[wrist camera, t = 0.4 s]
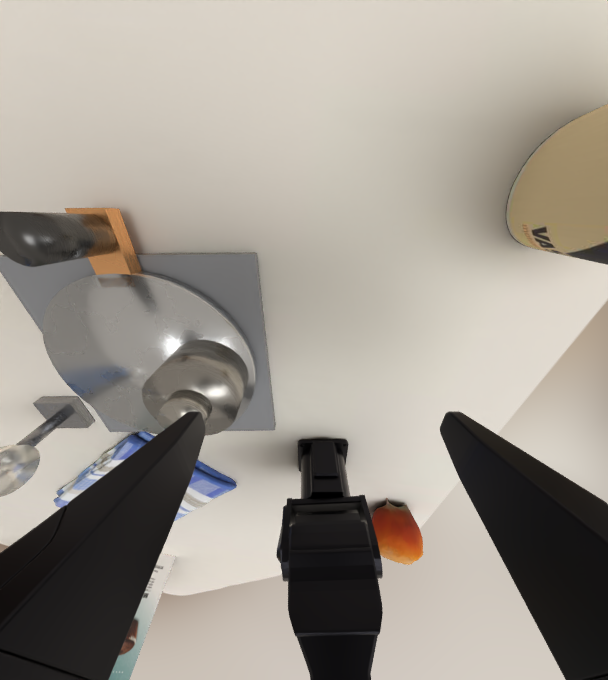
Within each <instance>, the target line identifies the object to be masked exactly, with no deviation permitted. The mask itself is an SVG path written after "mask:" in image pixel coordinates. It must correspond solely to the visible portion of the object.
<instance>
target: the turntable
mask: <svg viewBox="0 0 608 680" xmlns="http://www.w3.org/2000/svg"><path fill="white" fill-rule="evenodd" d="M65 210H66V212H67V213H34V212H0V251H1V252H2V253H3V254H4V255H6V256H7V257H8V258H10V259H11V260H13V261H15V262H16V263H19V264H21V265H24V266H28V267H37V266H43V265H48V264H54V263H60V262H65V261H71V260H76V259H82V258H88V259H89V261H90V263H91V265H92V267H93V269H94V271H95V273H96V275H93V276H89V277H85V278H82V279H80V280H77V281H75V282H73V283H70V284H69V285H67V286H66V287H65V288H63V289H62V290H60V291H59V292H58V293H57V294H56V295H55V296H54V298H53V299H52V300H51V302H50V304H49V305H48V307H47V309H46V312H45V315H44V319H43V338H44V344H45V347H46V350H47V353H48V355H49V358H50V360H51V362H52V364H53V365H54V367H55V369H56V370H57V372H58V373H59V375H60V376H61V377H62V379H63V380H64V381H65V382H66V384H67V385H68V386H69V387H70V388H71V389H72V390H73V391H74V392H75V393H76V394H77V395H79V396H80V397H81V398H82V399H83V400H84V401H86V402H87V403H88V404H90V405H91V406H92V407H94V408H95V409H97V410H98V411H100V412H102V413H103V414H105V415H107V416H109V417H110V418H112V419H114V420H116V421H118V422H121V423H123V424H125V425H128V426H130V427H133V428H136V429H139V430H142V431H146V432H150V433H154V434H159V433H161V432H162V431H163V430H165V429H164V428H163V427H162V426H161V425H160V424H159V422H158V420H156V419H155V418H154V417H153V416H152V415H151V414H150V413H149V411H148V410H147V408H146V407H145V405H144V403H143V399H142V388H143V385H144V383H145V382H146V380H147V379H148V378H149V377H150V376H151V375H152V374H153V373H154V372H155V371H156V370H157V369H158V368H159V367H160V366H161V365H162V364H163V363H164V362H165V361H166V360H167V359H168V358H169V357H170V356H171V355H172V353H173V352H174V351H175V350H176V349H177V348H178V347H180V346H181V345H182V344H184V343H187V342H190V341H194V340H210V341H215V342H218V343H221V344H224V345H226V346H227V347H229V348H231V349H232V350H234V351H235V352H236V353H237V354H238V355H239V356H240V357H241V358H242V359H243V361H244V362H245V364H246V366H247V369H248V374H249V379H248V384H247V387H246V390H245V393H244V396H243V398H242V401H241V404H240V407H239V410H238V413H237V416H236V419H235V421H236V420H237V419H238V418H239V417H240V416H241V415H242V414H243V413H244V411H245V410H246V409H247V407H248V405H249V403H250V401H251V399H252V395H253V392H254V388H255V385H256V378H257V368H256V361H255V357H254V353H253V351H252V348H251V345H250V343H249V341H248V340H247V338H246V336H245V334H244V333H243V331H242V330H241V328H240V327H239V326H238V324H237V323H236V322H235V321H234V320H233V318H232V317H231V316H230V315H229V314H228V313H227V312H226V311H225V310H224V309H223V308H221V307H220V306H219V305H218V304H217V303H216V302H214V301H213V300H211V299H210V298H209V297H207V296H206V295H204V294H203V293H201V292H199V291H198V290H196V289H194V288H192V287H190V286H189V285H186V284H184V283H182V282H179V281H177V280H175V279H172V278H169V277H165V276H162V275H159V274H155V273H149V272H144V271H142V270H141V268H140V265H139V262H138V259H137V257H136V254H135V251H134V249H133V246H132V243H131V240H130V238H129V235H128V232H127V230H126V227H125V224H124V221H123V219H122V216H121V213H120V211H119V209H113V208H65Z"/></svg>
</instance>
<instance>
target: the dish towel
mask: <svg viewBox="0 0 608 680" xmlns="http://www.w3.org/2000/svg"><path fill="white" fill-rule="evenodd" d="M154 437H155V436H153V435H151V434H149V433H147V432H146V431H144V432H139V433H137V434H136V435H129V436H128V437H127V438H126V439H124V440H123V441H121V442H120V443H119V444H118V445H116V446H115V447H114V448H113V449H111V450H110V451H108V452H106V453H105V454H103V455H102V456H101V457H100V458H99V459H98V460H97V461H96V462H95V463H94V464H92V465H91V466H89V467H88V468H87V469H85V470H84V471H83V472H82V473H81V474H80V475H79V476H78V477H77V478H76V479H74V480H73V481H72V482H70V483H69V484H67V485H66V486H64V487H63V488H62V489H60V490H58V491H57V492H56V493H57V495H58V496H59V497H57V498H56V499H54V502H55V503H56V506H57V507H61V508H62V507H63V506H65V505H68V503H69V502H70V501H71V500H72V499H74V498H75V497H76V496H78V495H79V494H80V493H82V492H83V491H84V490H86V489H87V488H88V487H90V486H91V485H92V484H94V483H95V482H96V481H97V480H99V479H100V478H101V477H103V476H104V475H105V474H107V473H108V472H109V471H111V470H112V469H113V468H115V467H116V466H117V465H119V464H120V463H121V462H122V461H124V460H125V459H126V458H128V457H129V456H130V455H132V454H133V453H134V452H136V451H137V450H138V449H140V448H141V447H142V446H144V445H145V444H146V443H148V442H149V441H150V440H151V439H153V438H154ZM236 486H237V485H236V483H235V482H234V481H233V480H232V479H231V478H229V477H227V476H225V475H223V474H221V473H219V472H217V471H216V470H214V469H212V468H210V467H209V466H207V465H205V464H204V463H202V462H200V461H198V460H197V462H196V466H195V469H194V472H193V475H192V478H191V481H190V483H189V486H188V488H187V491H186V493H185V495H184V498H183V500H182V503H181V505H180V508H179V510H178V512H177V515H176V517H175V520H177V519H179V518H181V517H183V516H185V515H186V514H188V513H189V512H190V511H193V510H195V509H197V508H199V507H201V506H203V505H205V504H207V503H208V502H210V501H211V500H212V499H214V498H216V497H218V496H220V495H222V494H224V493H226V492H228V491H231V490H233V489H234V488H236ZM175 520H174V521H175Z"/></svg>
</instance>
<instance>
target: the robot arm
mask: <svg viewBox="0 0 608 680" xmlns="http://www.w3.org/2000/svg"><path fill="white" fill-rule="evenodd" d="M205 432H206V427H205V423H204V420H203V416H202V413H201V412H199V411H190V412H187V413H186V414H184V415H183V416H182V417H180V418H179V419H178V420H176V421H175V422H174V423H173V424H171V425H170V426H169V427H167V428H166V429H165V430H163V431H162V432H161V433H159V434H158V435H157V436H155V437H154V438H153V439H151V440H150V441H149V442H148V443H146V444H145V445H144V446H142V447H141V448H140V449H138V450H137V451H136V452H134V453H133V454H132V455H130V456H129V457H128V458H126V459H125V460H124V461H122V462H121V463H120V464H119V465H117V466H116V467H115V468H113V469H112V470H111V471H109V472H108V473H107V474H105V475H104V476H103V477H101V478H100V479H99V480H97V481H96V482H95V483H94V484H92V485H91V486H90V487H88V488H87V489H86V490H84V491H83V492H82V493H80V494H79V495H78V496H76V497H75V498H74V499H72V500H71V501H70V502H69V503H68V505H65V506H63V507H62V508H60V509H59V510H58V511H57V512H55V513H54V514H53V515H51V516H50V517H49V518H47V519H46V520H45V521H43V522H42V523H41V524H39V525H38V526H37V527H35V528H34V529H32V530H31V531H30V532H28V533H27V534H26V535H24V536H23V537H22V538H20V539H19V540H18V541H16V542H15V543H14V544H12V545H11V546H9V547H8V548H6V549H5V550H4V551H2V552H1V553H0V680H109V678H110V675H111V673H112V670H113V668H114V666H115V663H116V661H117V658H118V656H119V653H120V651H121V648H122V646H123V644H124V641H125V639H126V636H127V634H128V631H129V629H130V627H131V624H132V622H133V619H134V617H135V614H136V612H137V610H138V607H139V605H140V602H141V600H142V597H143V595H144V593H145V590H146V588H147V585H148V583H149V580H150V578H151V576H152V573H153V571H154V568H155V566H156V563H157V561H158V559H159V556H160V554H161V551H162V549H163V546H164V544H165V542H166V539H167V537H168V534H169V532H170V529H171V527H172V525H173V522H174V520H175V517H176V515H177V512H178V510H179V508H180V505H181V503H182V500H183V498H184V495H185V493H186V491H187V488H188V486H189V483H190V481H191V478H192V475H193V472H194V469H195V466H196V462H197V459H198V456H199V452H200V449H201V446H202V442H203V439H204V436H205ZM440 432H441V435H442V438H443V440H444V443H445V445H446V447H447V450H448V452H449V455H450V457H451V459H452V462H453V464H454V466H455V469H456V471H457V473H458V476H459V478H460V480H461V482H462V484H463V486H464V488H465V489H466V491H467V493H468V495H469V497H470V499H471V501H472V503H473V505H474V507H475V508H476V510H477V512H478V514H479V516H480V518H481V520H482V522H483V523H484V525H485V527H486V529H487V531H488V533H489V535H490V537H491V539H492V540H493V543H494V544H495V546H496V548H497V550H498V552H499V554H500V556H501V557H502V560H503V562H504V563H505V565H506V567H507V569H508V571H509V573H510V575H511V577H512V579H513V580H514V582H515V584H516V586H517V588H518V590H519V592H520V594H521V596H522V598H523V599H524V601H525V603H526V605H527V607H528V609H529V611H530V613H531V614H532V616H533V618H534V620H535V622H536V624H537V626H538V628H539V630H540V632H541V633H542V635H543V637H544V639H545V641H546V643H547V645H548V647H549V649H550V651H551V653H552V654H553V656H554V658H555V660H556V662H557V664H558V666H559V668H560V670H561V671H562V673H563V675H564V677H565V679H566V680H608V504H607V503H606V502H605V501H603V500H601V499H600V498H598V497H596V496H595V495H593V494H592V493H590V492H589V491H587V490H585V489H584V488H582V487H580V486H579V485H577V484H576V483H574V482H572V481H571V480H569V479H568V478H566V477H564V476H563V475H561V474H560V473H558V472H556V471H554V470H553V469H551V468H550V467H548V466H546V465H545V464H543V463H541V462H540V461H539V460H537V459H535V458H534V457H532V456H531V455H529V454H527V453H526V452H524V451H522V450H521V449H519V448H518V447H516V446H514V445H513V444H511V443H510V442H508V441H506V440H505V439H503V438H502V437H500V436H498V435H497V434H495V433H493V432H492V431H490V430H489V429H487V428H485V427H484V426H482V425H481V424H479V423H477V422H476V421H474V420H473V419H471V418H469V417H468V416H466V415H464V414H463V413H461V412H447V413H446V414H445V417H444V419H443V421H442V424H441V426H440ZM347 450H348V442H347V440H300V441H299V442H298V460H299V471H300V472H301V499H292V498H288V499H287V505H286V506H284V507H283V520H282V528H281V533H280V538H279V543H278V548H277V558H278V560H279V561H280V563H281V569H282V576H283V581H288V611H289V616H290V620H291V623H292V627H293V630H294V633H295V636H297V638H298V641H299V644H300V647H301V649H302V652H303V655H304V658H305V661H306V664H307V666H308V670H309V672H310V678H311V680H371V675H370V673H371V667H372V662H373V657H374V652H375V646H376V641H377V636H378V634H379V633H380V628H381V621H382V602H381V596H380V590H379V584H378V579H377V578H382V563H381V556H380V551H379V546H378V541H377V537H376V533H375V530H374V526H373V523H372V519H371V516H370V513H369V509H368V506H367V502H366V499H365V495H359V496H350V492H349V486H348V480H347V474H346V468H345V463H346V456H347Z"/></svg>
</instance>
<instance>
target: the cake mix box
mask: <svg viewBox="0 0 608 680" xmlns="http://www.w3.org/2000/svg"><path fill="white" fill-rule="evenodd" d="M175 557H176V556H172V555H168V554H163V553H161V554H160V556H159V559H158V561H157V563H156V566H155V568H154V571H153V573H152V576H151V578H150V580H149V583H148V585H147V588H146V590H145V593H144V595H143V597H142V600H141V602H140V605H139V607H138V610H137V612H136V614H135V617H134V619H133V622H132V624H131V627H130V629H129V631H128V634H127V636H126V639H125V641H124V644H123V646H122V648H121V651H120V653H119V656H118V658H117V661H116V663H115V666H114V668H113V670H112V673H111V675H110V678H109V680H129V679H130V677H131V674H132V671H133V668H134V666H135V663H136V661H137V658H138V655H139V652H140V650H141V647H142V645H143V642H144V639H145V637H146V634H147V631H148V629H149V626H150V623H151V621H152V618H153V616H154V613H155V610H156V608H157V605H158V602H159V600H160V597H161V594H162V592H163V589H164V586H165V584H166V581H167V578H168V576H169V573H170V570H171V568H172V565H173V562H174V560H175Z"/></svg>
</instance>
